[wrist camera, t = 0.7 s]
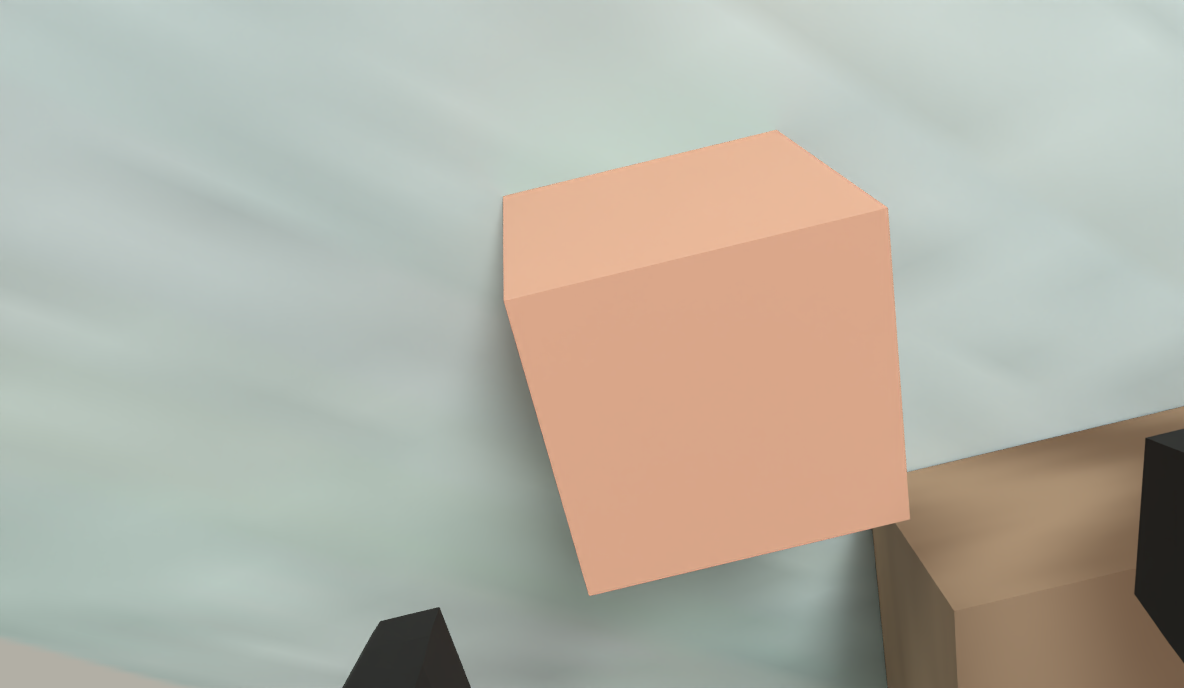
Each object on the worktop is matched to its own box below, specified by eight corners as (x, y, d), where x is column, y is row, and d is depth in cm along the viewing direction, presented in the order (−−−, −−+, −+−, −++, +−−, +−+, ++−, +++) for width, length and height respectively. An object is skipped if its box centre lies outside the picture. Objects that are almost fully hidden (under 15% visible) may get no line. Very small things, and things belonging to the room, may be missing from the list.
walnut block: (1274, 384, 19) (1458, 491, 15) (1231, 680, 23) (1370, 820, 19) (867, 481, 19) (954, 611, 15) (894, 758, 23) (968, 914, 19)
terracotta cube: (775, 128, 15) (888, 207, 11) (805, 370, 18) (909, 519, 13) (503, 195, 16) (503, 300, 11) (566, 427, 18) (588, 596, 13)
